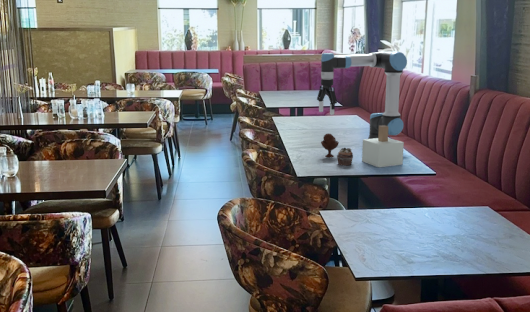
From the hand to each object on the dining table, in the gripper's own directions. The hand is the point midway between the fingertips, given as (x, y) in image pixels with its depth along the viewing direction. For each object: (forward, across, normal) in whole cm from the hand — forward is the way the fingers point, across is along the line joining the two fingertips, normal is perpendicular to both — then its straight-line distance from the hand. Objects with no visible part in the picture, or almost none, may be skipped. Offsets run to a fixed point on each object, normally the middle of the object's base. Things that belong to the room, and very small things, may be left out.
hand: (326, 113), depth 338 cm
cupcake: (+28, +21, +1) cm, 35 cm away
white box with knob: (+28, +28, +23) cm, 46 cm away
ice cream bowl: (+28, 0, +3) cm, 28 cm away
